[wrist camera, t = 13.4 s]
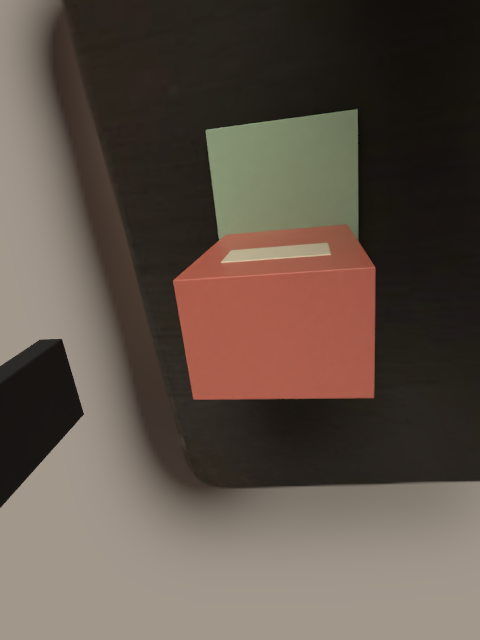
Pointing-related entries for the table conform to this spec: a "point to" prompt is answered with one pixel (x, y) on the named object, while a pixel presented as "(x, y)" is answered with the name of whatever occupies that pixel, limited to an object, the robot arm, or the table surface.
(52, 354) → the robot arm
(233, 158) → the mat
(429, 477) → the table surface
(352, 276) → the packet
